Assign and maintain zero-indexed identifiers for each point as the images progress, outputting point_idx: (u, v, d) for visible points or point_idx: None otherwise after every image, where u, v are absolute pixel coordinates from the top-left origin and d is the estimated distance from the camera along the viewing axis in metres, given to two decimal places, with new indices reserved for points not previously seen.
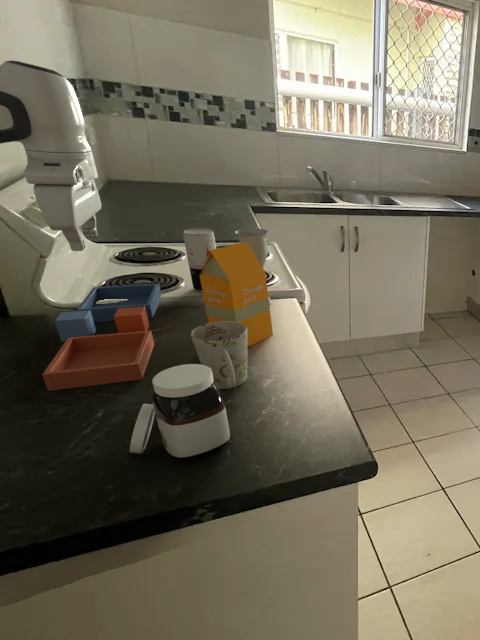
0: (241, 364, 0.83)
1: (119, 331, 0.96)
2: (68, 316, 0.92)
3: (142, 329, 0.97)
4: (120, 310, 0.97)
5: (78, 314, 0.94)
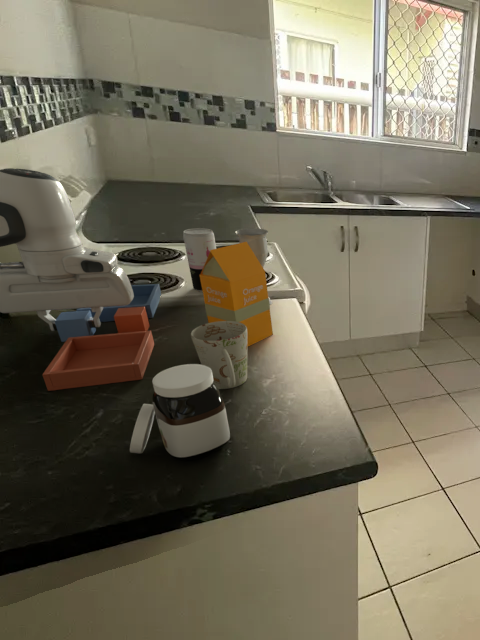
0: (241, 364, 0.83)
1: (119, 331, 0.96)
2: (68, 316, 0.92)
3: (142, 329, 0.97)
4: (120, 310, 0.97)
5: (78, 314, 0.94)
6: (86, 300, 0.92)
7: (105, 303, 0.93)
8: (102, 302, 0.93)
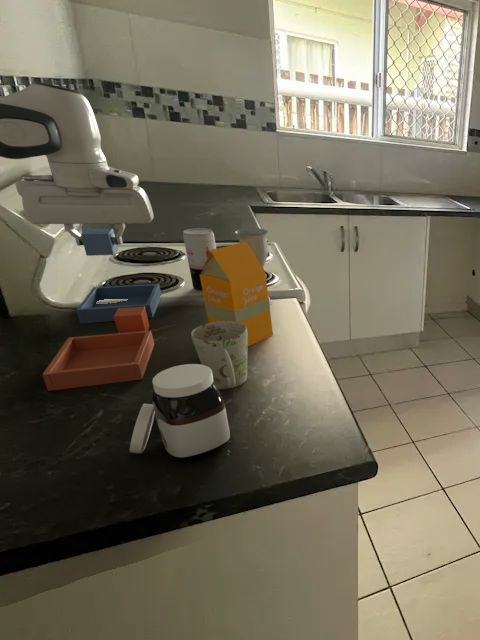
0: (241, 364, 0.83)
1: (119, 331, 0.96)
2: (93, 232, 0.98)
3: (142, 329, 0.97)
4: (120, 310, 0.97)
5: (101, 231, 0.99)
6: (110, 216, 0.97)
7: (128, 220, 0.99)
8: (125, 219, 0.98)
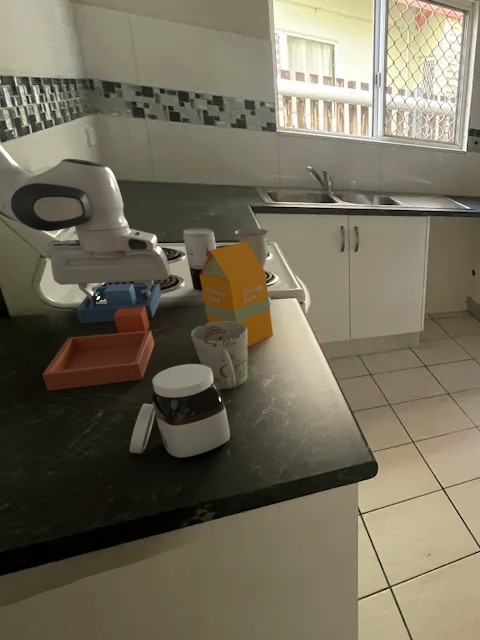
0: (241, 364, 0.83)
1: (119, 331, 0.96)
2: (115, 288, 1.05)
3: (142, 329, 0.97)
4: (120, 310, 0.97)
5: (123, 287, 1.07)
6: (131, 274, 1.05)
7: (147, 278, 1.06)
8: (144, 276, 1.06)
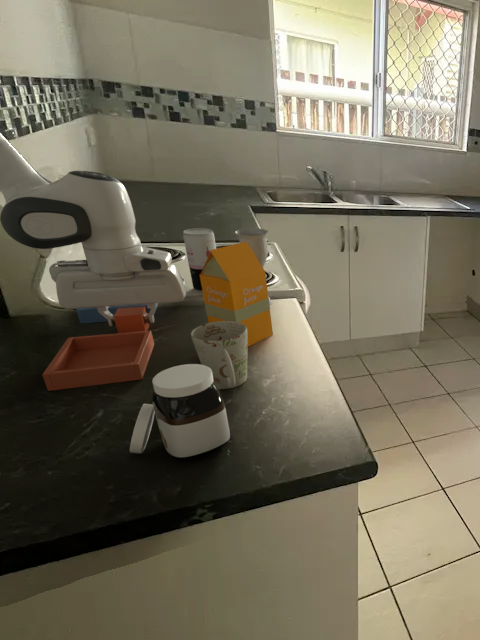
0: (241, 364, 0.83)
1: (119, 331, 0.96)
2: None
3: (142, 329, 0.97)
4: (120, 310, 0.97)
5: None
6: (143, 297, 0.95)
7: (161, 300, 0.97)
8: (158, 299, 0.97)
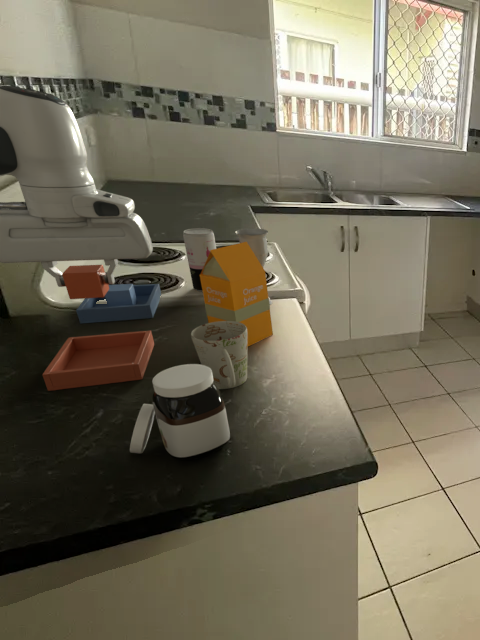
0: (241, 364, 0.83)
1: (69, 292, 0.79)
2: (115, 288, 1.05)
3: (98, 291, 0.81)
4: (71, 268, 0.80)
5: (123, 287, 1.07)
6: (99, 250, 0.79)
7: (121, 255, 0.80)
8: (117, 253, 0.80)
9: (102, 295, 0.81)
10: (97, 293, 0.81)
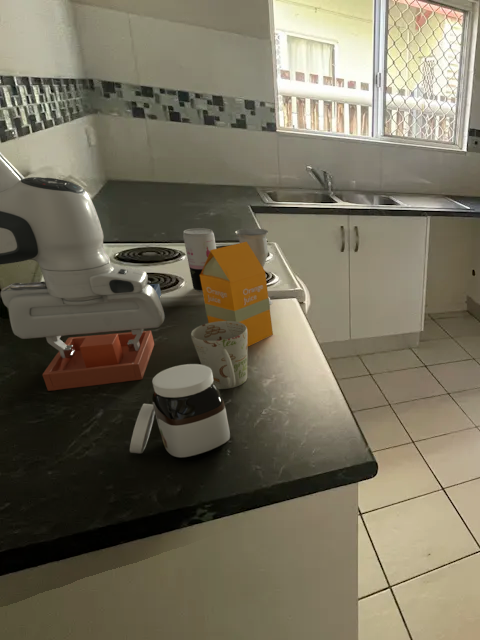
0: (241, 364, 0.83)
1: (86, 364, 0.83)
2: None
3: (114, 361, 0.84)
4: (88, 339, 0.84)
5: None
6: (114, 323, 0.82)
7: (135, 326, 0.84)
8: (131, 325, 0.84)
9: None
10: (112, 363, 0.84)
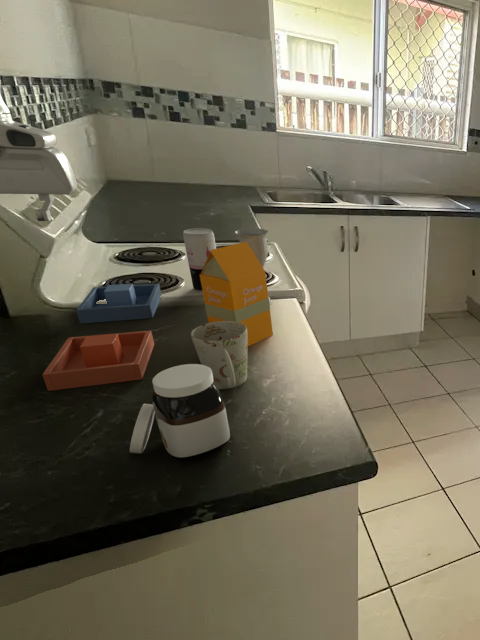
0: (241, 364, 0.83)
1: (87, 363, 0.83)
2: (115, 288, 1.05)
3: (114, 360, 0.84)
4: (88, 339, 0.84)
5: (123, 287, 1.07)
6: (16, 184, 0.77)
7: (41, 190, 0.79)
8: (36, 188, 0.78)
9: None
10: (113, 363, 0.84)
